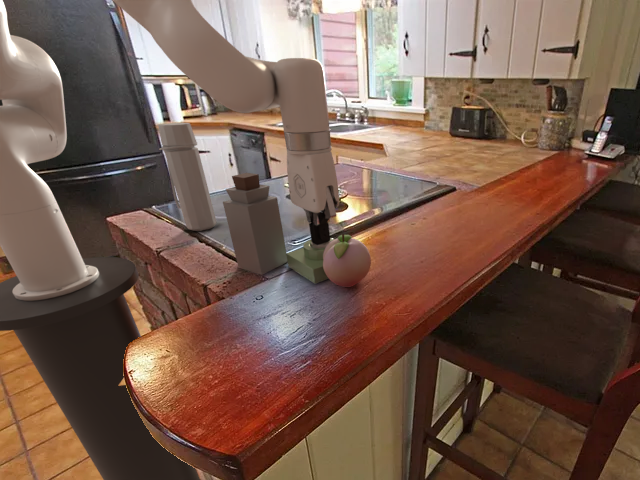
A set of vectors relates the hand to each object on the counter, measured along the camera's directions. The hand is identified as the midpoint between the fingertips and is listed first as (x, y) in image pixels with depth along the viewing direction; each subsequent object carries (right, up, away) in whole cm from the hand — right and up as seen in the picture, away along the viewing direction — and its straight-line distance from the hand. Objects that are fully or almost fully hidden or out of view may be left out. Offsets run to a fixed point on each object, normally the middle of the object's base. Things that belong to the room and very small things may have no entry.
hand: (321, 241), depth 69 cm
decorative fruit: (+6, -9, -5) cm, 11 cm away
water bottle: (-37, +5, +24) cm, 45 cm away
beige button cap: (0, -2, +1) cm, 2 cm away
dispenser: (0, -5, +2) cm, 5 cm away
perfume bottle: (-12, -5, +4) cm, 14 cm away
